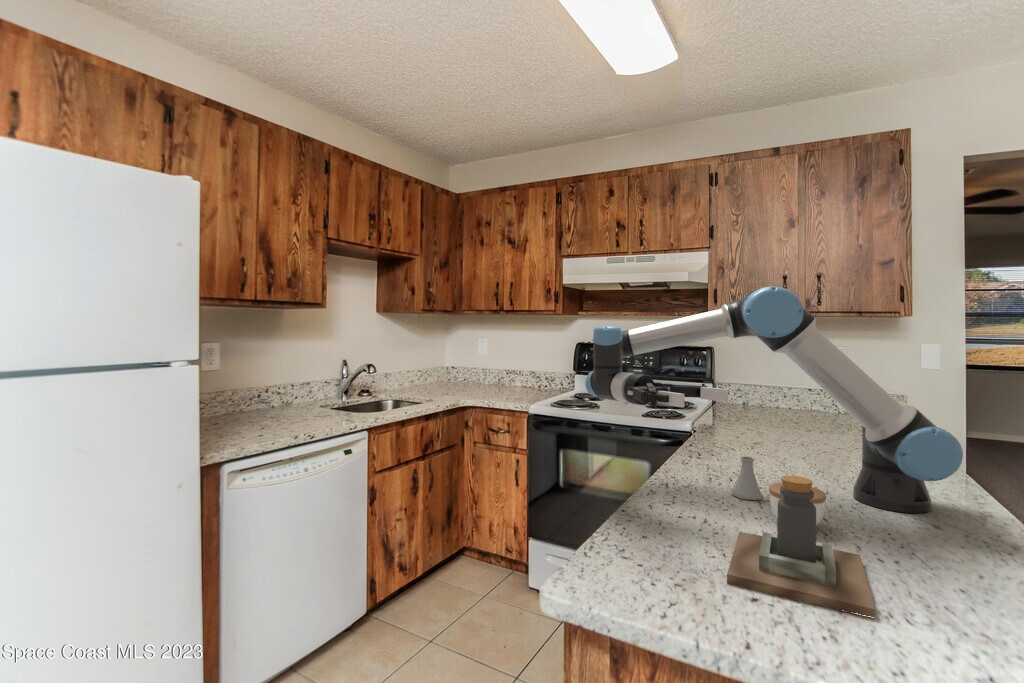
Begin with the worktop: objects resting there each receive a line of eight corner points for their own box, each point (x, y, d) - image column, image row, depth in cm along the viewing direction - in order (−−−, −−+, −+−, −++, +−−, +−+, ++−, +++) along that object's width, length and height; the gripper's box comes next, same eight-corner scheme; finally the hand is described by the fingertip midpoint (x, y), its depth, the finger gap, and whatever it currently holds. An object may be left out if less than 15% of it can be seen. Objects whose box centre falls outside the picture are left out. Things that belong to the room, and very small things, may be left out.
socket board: (859, 562, 87) (860, 541, 87) (874, 619, 70) (875, 592, 70) (739, 538, 98) (739, 519, 98) (726, 582, 81) (727, 559, 80)
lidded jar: (806, 539, 97) (806, 493, 97) (758, 521, 107) (758, 479, 107) (836, 529, 102) (837, 486, 102) (787, 512, 112) (788, 472, 112)
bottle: (770, 556, 87) (770, 474, 86) (800, 555, 87) (801, 473, 87) (791, 573, 81) (792, 485, 80) (824, 571, 81) (824, 483, 81)
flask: (756, 492, 126) (756, 454, 126) (767, 501, 119) (767, 461, 119) (727, 491, 127) (727, 453, 127) (737, 500, 120) (737, 461, 120)
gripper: (669, 399, 125) (743, 410, 106) (594, 407, 113) (663, 421, 94) (669, 371, 125) (743, 377, 106) (594, 376, 113) (663, 383, 94)
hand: (705, 398), depth 100 cm, fingers open, 13 cm apart
